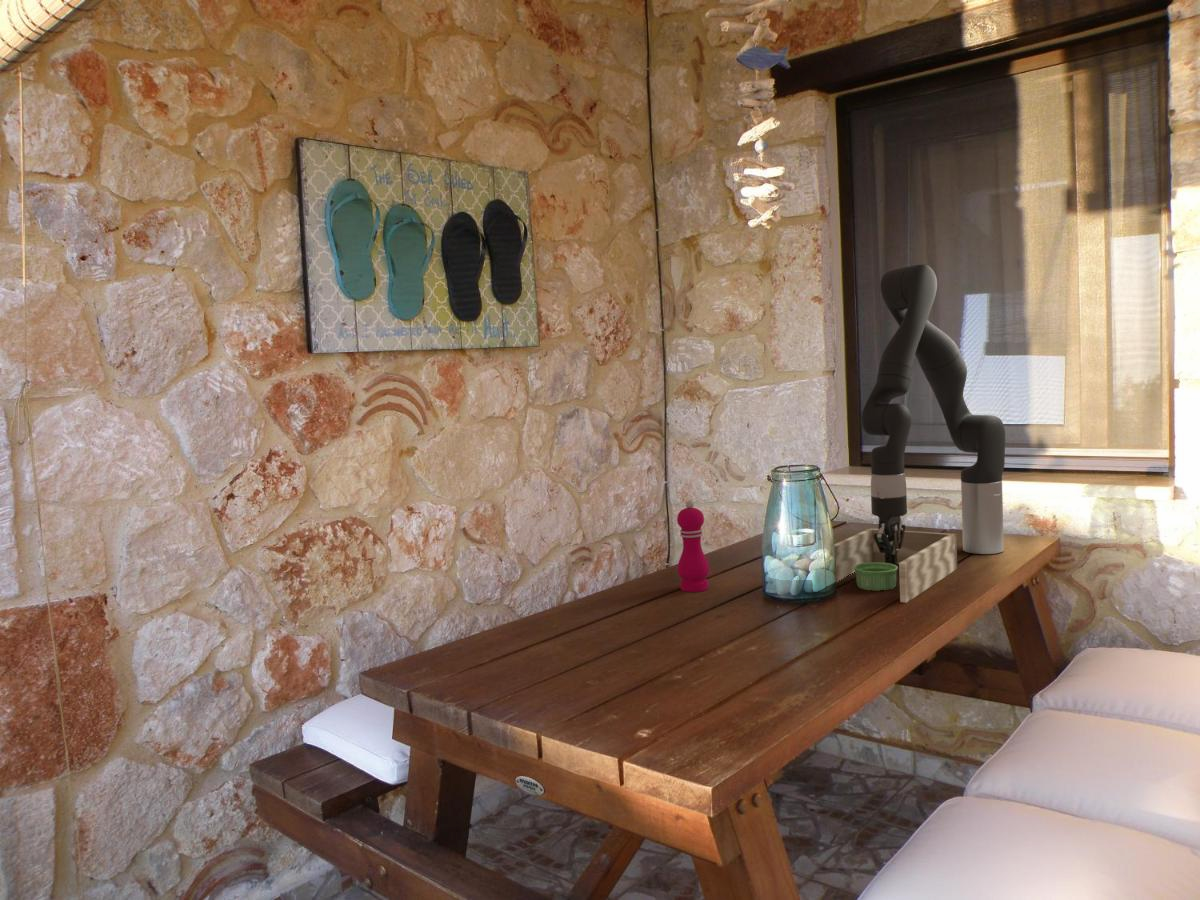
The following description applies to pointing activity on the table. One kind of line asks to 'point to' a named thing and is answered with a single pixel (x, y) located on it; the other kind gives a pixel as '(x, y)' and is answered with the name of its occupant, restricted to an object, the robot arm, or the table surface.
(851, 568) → the wooden c-shaped frame
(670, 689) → the table surface
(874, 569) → the ramekin
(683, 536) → the pepper mill
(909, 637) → the table surface
